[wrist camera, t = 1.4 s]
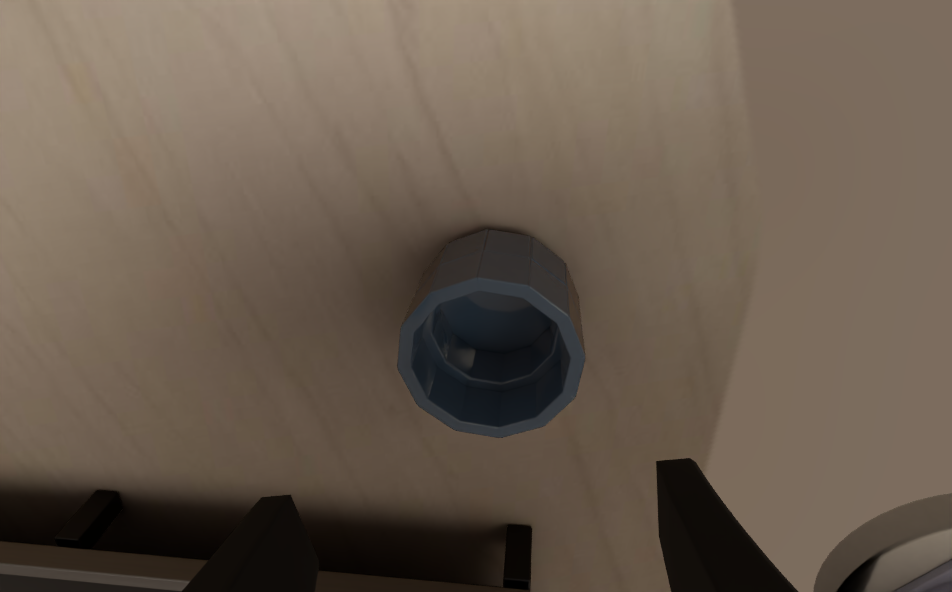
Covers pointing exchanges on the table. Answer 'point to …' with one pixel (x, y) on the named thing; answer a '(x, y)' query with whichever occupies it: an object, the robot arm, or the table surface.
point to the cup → (493, 336)
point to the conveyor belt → (192, 563)
